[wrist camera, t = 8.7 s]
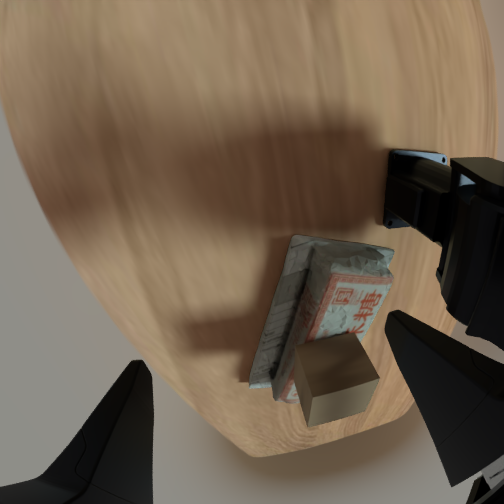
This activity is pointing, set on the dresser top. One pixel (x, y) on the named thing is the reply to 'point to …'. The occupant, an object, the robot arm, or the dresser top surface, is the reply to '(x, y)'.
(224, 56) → the dresser top surface
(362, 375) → the walnut block
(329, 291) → the packaged product
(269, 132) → the dresser top surface
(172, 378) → the dresser top surface
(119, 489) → the robot arm
